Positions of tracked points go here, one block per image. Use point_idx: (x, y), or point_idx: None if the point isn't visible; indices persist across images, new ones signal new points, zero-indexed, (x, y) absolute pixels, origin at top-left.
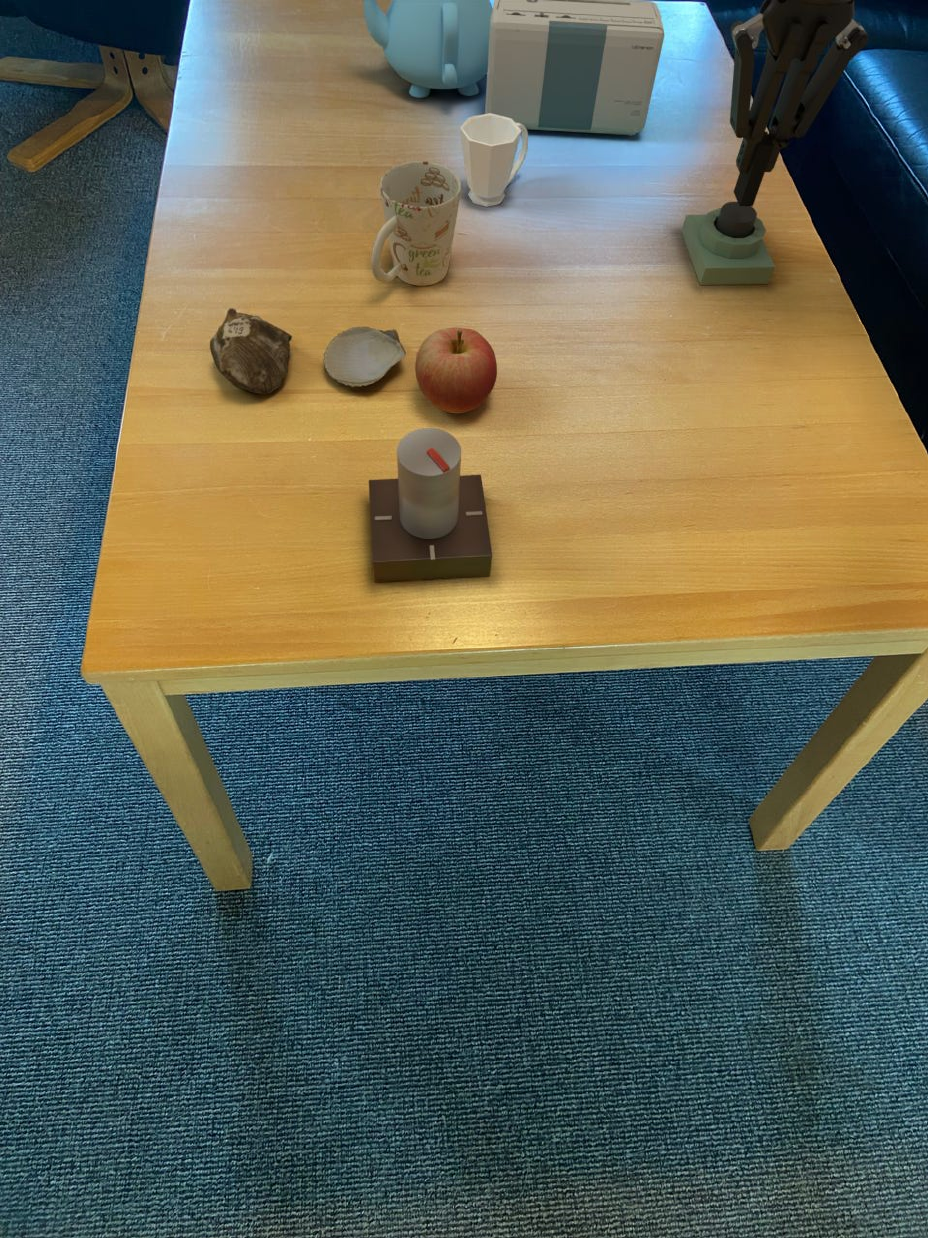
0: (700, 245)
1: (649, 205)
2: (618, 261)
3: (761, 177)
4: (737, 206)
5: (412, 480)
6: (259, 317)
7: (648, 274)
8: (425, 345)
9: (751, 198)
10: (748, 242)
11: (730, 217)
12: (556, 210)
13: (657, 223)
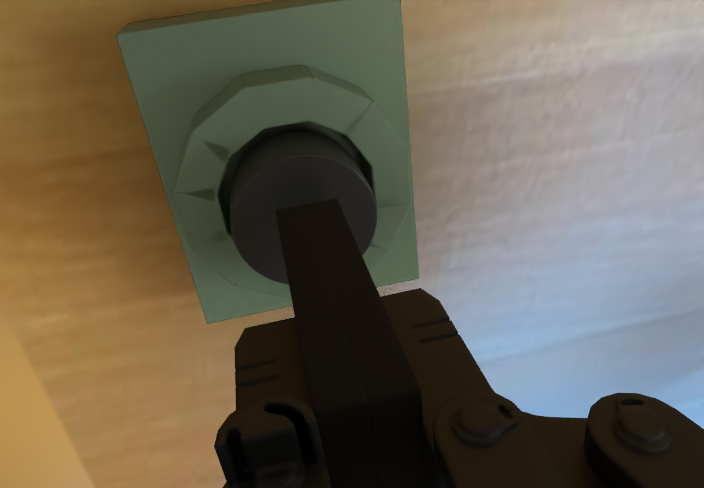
0: (398, 129)
1: (467, 337)
2: (609, 83)
3: (296, 281)
4: None
5: None
6: None
7: (538, 27)
8: None
9: (298, 221)
10: (249, 99)
11: (346, 179)
12: (695, 271)
13: (461, 273)
